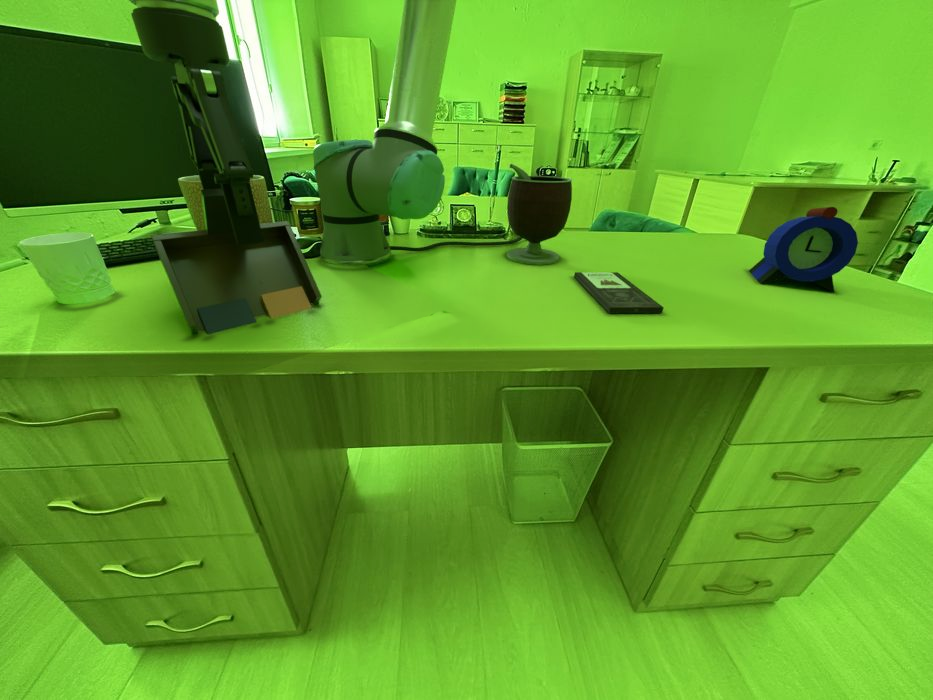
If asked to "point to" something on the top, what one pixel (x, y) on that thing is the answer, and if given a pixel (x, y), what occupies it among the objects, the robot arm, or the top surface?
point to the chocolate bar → (617, 293)
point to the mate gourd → (537, 214)
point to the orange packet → (285, 302)
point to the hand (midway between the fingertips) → (236, 231)
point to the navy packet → (226, 315)
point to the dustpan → (231, 263)
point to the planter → (194, 203)
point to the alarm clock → (808, 249)
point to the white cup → (70, 266)
